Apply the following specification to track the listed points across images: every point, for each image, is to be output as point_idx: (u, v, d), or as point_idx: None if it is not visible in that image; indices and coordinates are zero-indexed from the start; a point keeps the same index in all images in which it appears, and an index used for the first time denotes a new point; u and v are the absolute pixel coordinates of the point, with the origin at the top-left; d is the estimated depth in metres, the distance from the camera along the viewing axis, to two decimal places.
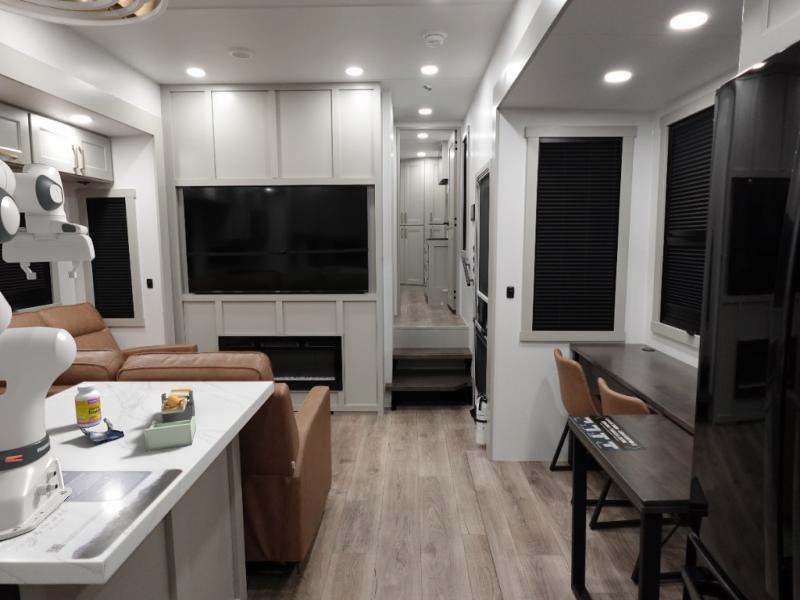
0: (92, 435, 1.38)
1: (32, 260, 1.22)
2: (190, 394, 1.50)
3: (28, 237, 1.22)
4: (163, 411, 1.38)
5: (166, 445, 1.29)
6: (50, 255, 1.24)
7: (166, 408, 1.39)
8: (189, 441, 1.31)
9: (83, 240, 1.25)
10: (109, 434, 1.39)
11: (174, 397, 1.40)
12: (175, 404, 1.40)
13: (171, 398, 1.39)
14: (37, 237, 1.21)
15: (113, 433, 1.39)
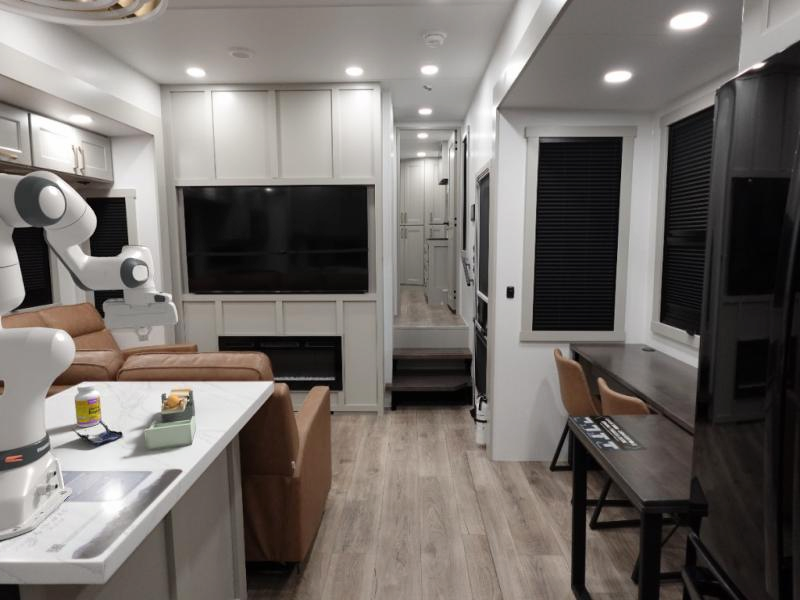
0: None
1: (129, 326, 1.43)
2: (190, 394, 1.50)
3: (126, 307, 1.42)
4: (163, 411, 1.38)
5: (166, 445, 1.29)
6: (143, 321, 1.44)
7: (166, 408, 1.39)
8: (189, 441, 1.31)
9: (171, 308, 1.46)
10: (105, 436, 1.37)
11: (174, 397, 1.40)
12: (175, 404, 1.40)
13: (171, 398, 1.39)
14: (133, 307, 1.42)
15: (109, 434, 1.38)
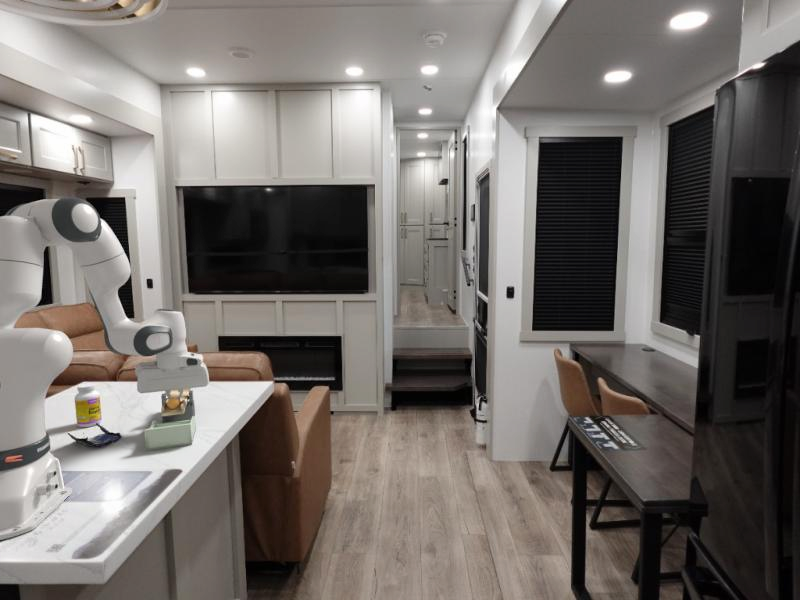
0: None
1: (161, 390, 1.42)
2: (190, 394, 1.50)
3: (158, 371, 1.41)
4: (163, 413, 1.38)
5: (166, 445, 1.29)
6: (176, 385, 1.43)
7: (166, 410, 1.39)
8: (189, 441, 1.31)
9: (202, 370, 1.44)
10: (102, 438, 1.36)
11: (174, 399, 1.40)
12: (175, 406, 1.40)
13: (171, 400, 1.39)
14: (166, 371, 1.41)
15: (106, 437, 1.37)
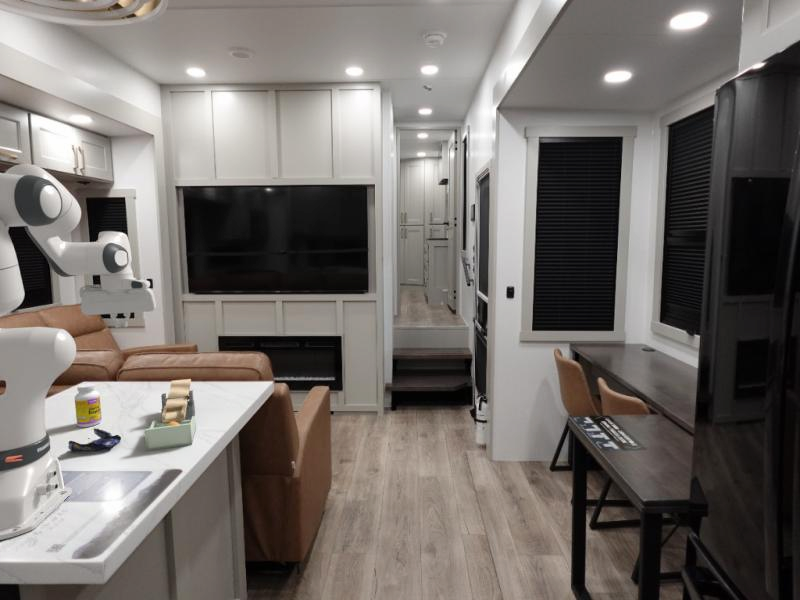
0: (81, 449, 1.28)
1: (106, 312, 1.43)
2: (190, 394, 1.50)
3: (102, 293, 1.42)
4: (164, 420, 1.38)
5: (166, 445, 1.29)
6: (121, 308, 1.44)
7: (167, 415, 1.40)
8: (189, 441, 1.31)
9: (148, 294, 1.45)
10: (100, 443, 1.32)
11: None
12: None
13: None
14: (110, 293, 1.42)
15: (103, 441, 1.33)
